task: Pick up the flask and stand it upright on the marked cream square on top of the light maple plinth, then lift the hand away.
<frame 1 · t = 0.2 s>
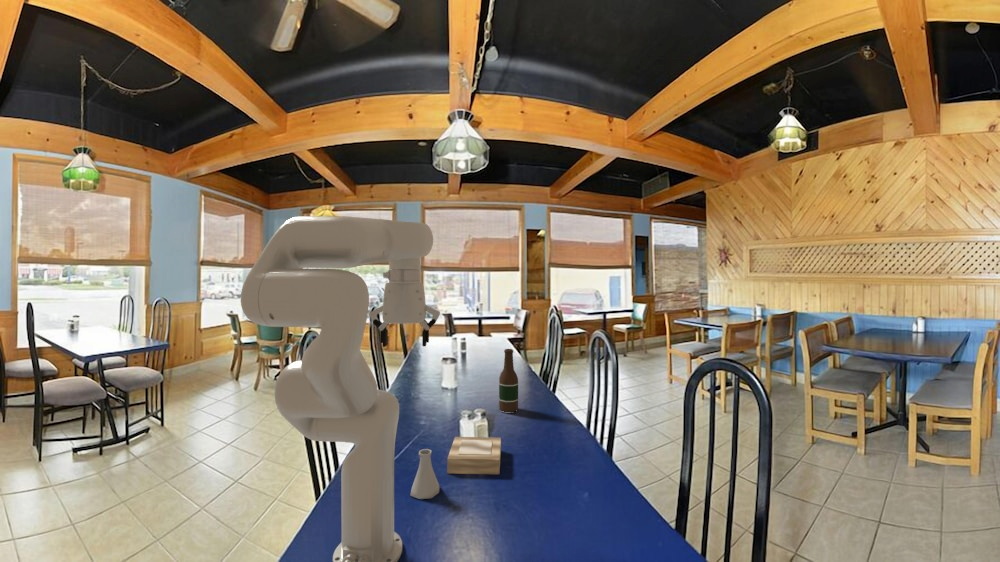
hand: (404, 345, 98), 36 cm above the table, tool pointing down, fingers open, 9 cm apart
beer bottle: (508, 410, 154), on the table
plinth: (475, 461, 112), on the table
flask: (425, 492, 97), on the table
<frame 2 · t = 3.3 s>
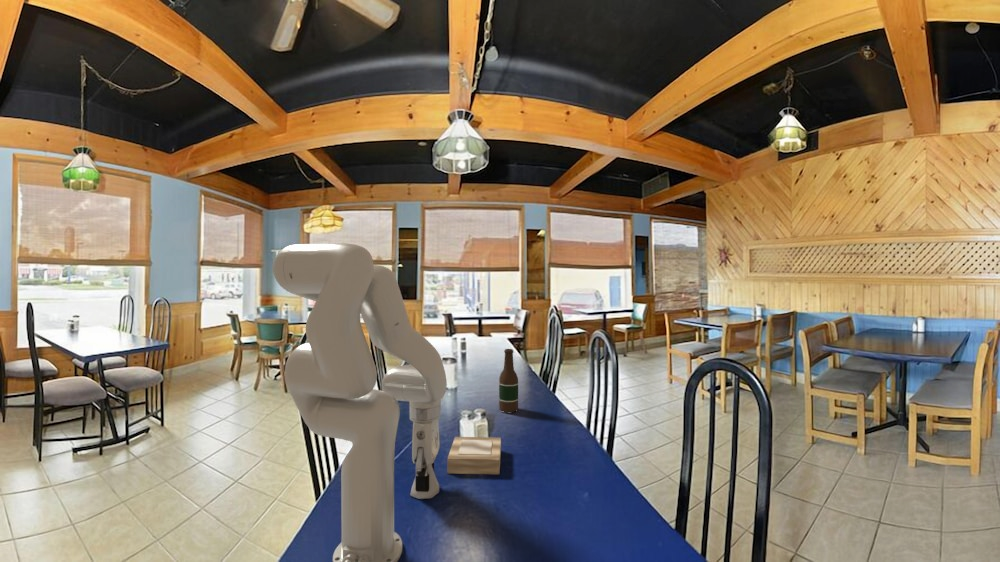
hand: (425, 483, 97), 2 cm above the table, tool pointing down, fingers closed on flask, 4 cm apart
flask: (425, 492, 97), on the table, touching gripper
everything else where it was.
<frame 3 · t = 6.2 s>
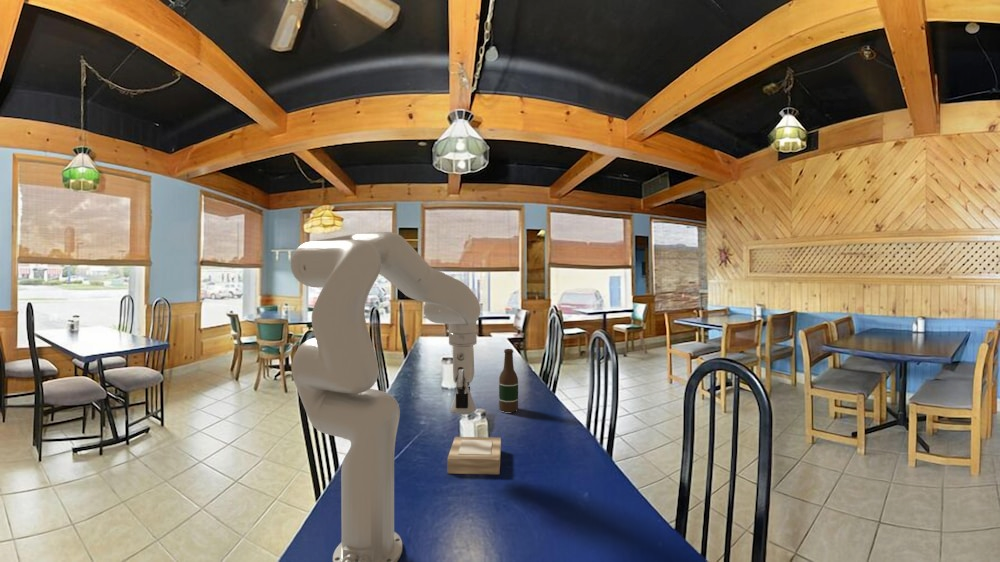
hand: (463, 403, 108), 18 cm above the table, tool pointing down, fingers closed on flask, 4 cm apart
flask: (463, 411, 108), point 16 cm above the table, touching gripper
everything else where it was.
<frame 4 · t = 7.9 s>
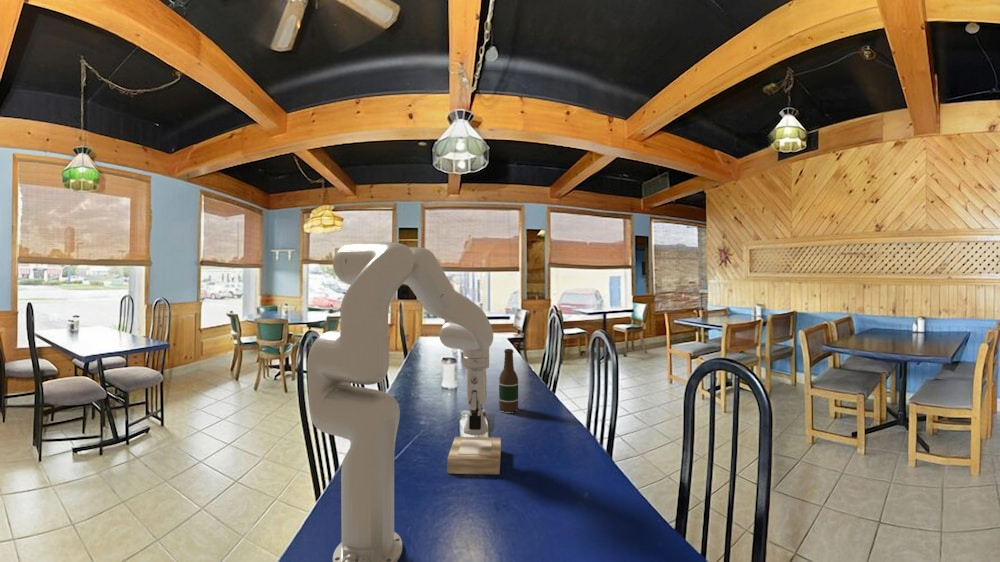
hand: (476, 424, 112), 11 cm above the table, tool pointing down, fingers closed on flask, 4 cm apart
flask: (475, 431, 112), point 8 cm above the table, touching gripper
everything else where it was.
when the fingers open (7 cm above the table, at t = 9.3 s): flask drops 1 cm, resting on plinth.
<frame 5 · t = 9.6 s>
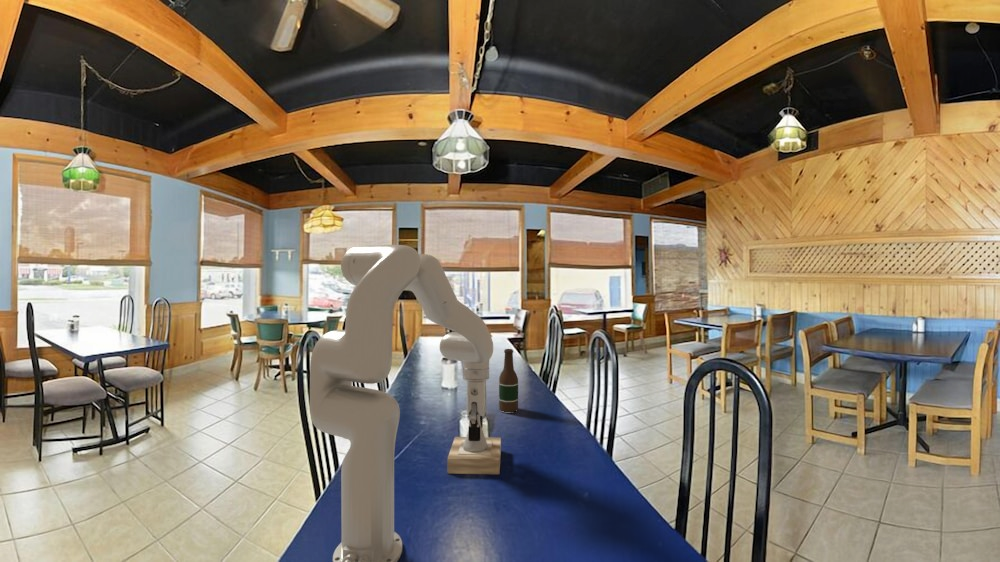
hand: (475, 433, 112), 8 cm above the table, tool pointing down, fingers open, 7 cm apart
flask: (475, 447, 112), point 4 cm above the table, touching plinth
everything else where it was.
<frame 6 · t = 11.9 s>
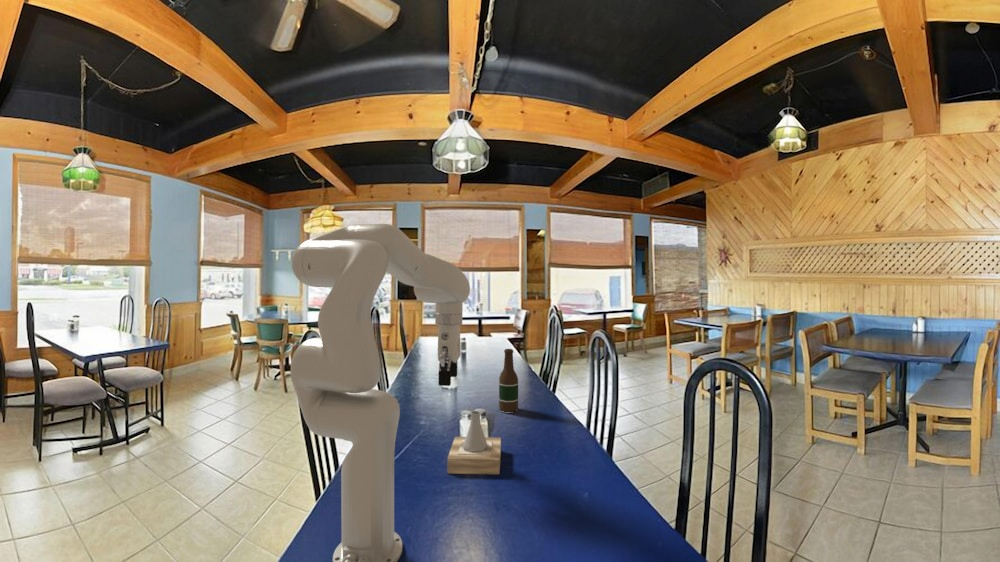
hand: (448, 380, 110), 24 cm above the table, tool pointing down, fingers open, 9 cm apart
nothing on the table moved.
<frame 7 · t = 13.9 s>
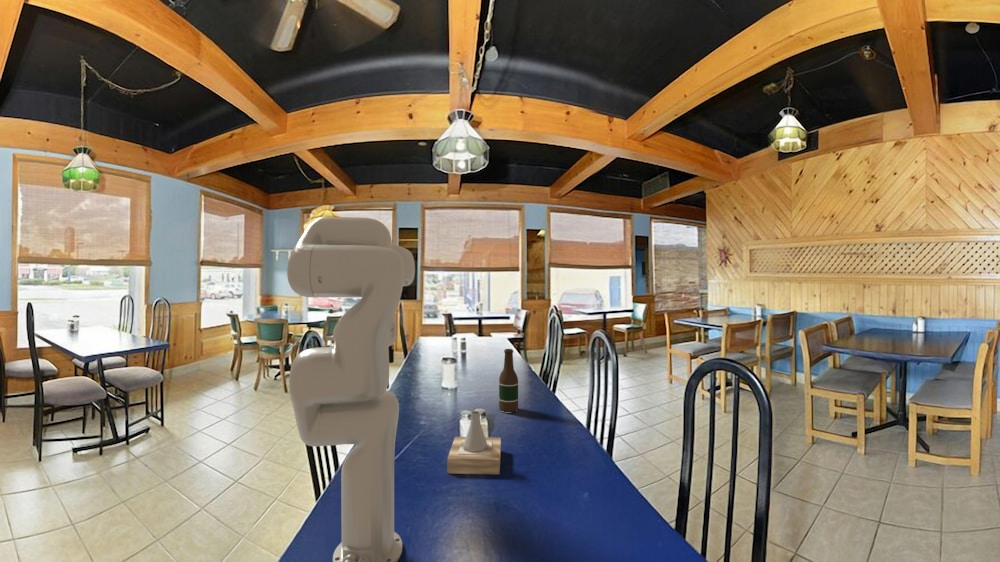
hand: (382, 366, 106), 28 cm above the table, tool pointing down, fingers open, 9 cm apart
nothing on the table moved.
at the end: flask 0.2 cm off-centre on the plinth, point 4.0 cm above the plinth's base; flask tilted 0°; the gripper is holding nothing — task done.
